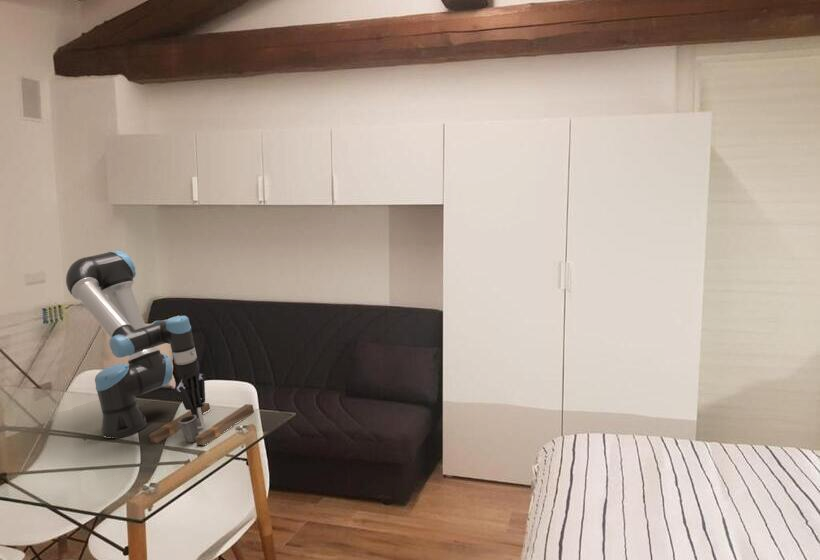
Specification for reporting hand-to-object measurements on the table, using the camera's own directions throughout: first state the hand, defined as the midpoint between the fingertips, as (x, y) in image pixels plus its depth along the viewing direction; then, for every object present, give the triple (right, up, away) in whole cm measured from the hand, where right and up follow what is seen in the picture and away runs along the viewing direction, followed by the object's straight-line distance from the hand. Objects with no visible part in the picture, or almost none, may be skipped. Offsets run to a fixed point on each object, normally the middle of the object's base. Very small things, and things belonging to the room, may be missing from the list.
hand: (200, 425), depth 231 cm
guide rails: (+1, -1, +2) cm, 2 cm away
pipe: (0, -3, -6) cm, 7 cm away
